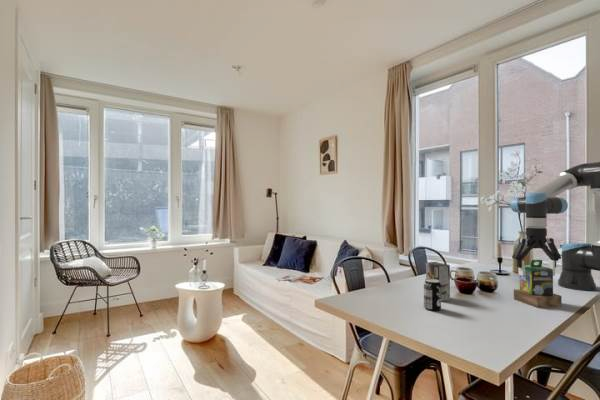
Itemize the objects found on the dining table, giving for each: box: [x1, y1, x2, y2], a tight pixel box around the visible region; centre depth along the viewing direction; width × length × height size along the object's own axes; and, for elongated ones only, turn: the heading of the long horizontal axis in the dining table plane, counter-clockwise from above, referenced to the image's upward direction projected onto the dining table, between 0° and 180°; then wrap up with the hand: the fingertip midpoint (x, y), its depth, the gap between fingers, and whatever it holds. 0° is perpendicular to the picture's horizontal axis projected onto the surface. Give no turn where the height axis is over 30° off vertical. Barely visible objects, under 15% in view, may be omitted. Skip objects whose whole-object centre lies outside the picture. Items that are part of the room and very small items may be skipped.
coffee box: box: [425, 261, 451, 302], centre depth 147 cm, size 9×6×16 cm
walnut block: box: [513, 288, 562, 309], centre depth 140 cm, size 12×12×5 cm
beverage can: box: [423, 278, 442, 312], centre depth 132 cm, size 7×7×12 cm
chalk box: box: [519, 259, 554, 296], centre depth 140 cm, size 9×9×15 cm
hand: (536, 275), depth 140 cm, fingers open, 13 cm apart
